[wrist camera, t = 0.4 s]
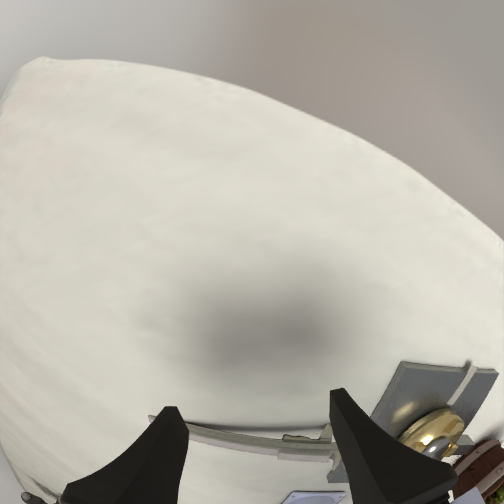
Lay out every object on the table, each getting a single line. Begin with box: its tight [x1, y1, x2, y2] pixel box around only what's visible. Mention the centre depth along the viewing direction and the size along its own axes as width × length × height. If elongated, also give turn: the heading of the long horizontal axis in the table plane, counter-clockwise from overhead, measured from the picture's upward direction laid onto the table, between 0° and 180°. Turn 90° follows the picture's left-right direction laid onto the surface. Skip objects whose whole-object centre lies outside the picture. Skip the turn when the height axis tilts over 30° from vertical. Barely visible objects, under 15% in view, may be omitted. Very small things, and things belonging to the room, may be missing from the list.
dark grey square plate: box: [327, 362, 499, 483], centre depth 21 cm, size 19×19×1 cm
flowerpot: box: [450, 440, 504, 504], centre depth 13 cm, size 14×15×20 cm
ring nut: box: [398, 408, 476, 460], centre depth 19 cm, size 14×9×3 cm, turn 64°
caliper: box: [148, 415, 346, 470], centre depth 20 cm, size 21×1×6 cm, turn 90°
